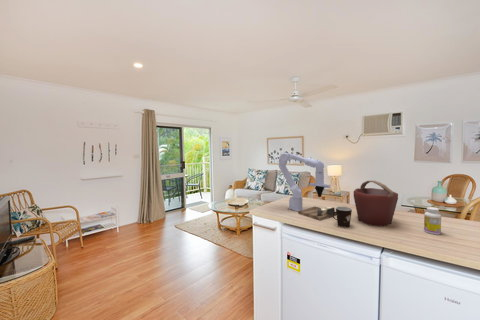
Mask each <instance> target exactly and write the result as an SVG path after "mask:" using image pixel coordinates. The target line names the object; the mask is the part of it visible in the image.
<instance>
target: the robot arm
mask: <svg viewBox="0 0 480 320" xmlns="http://www.w3.org/2000/svg"><path fill="white" fill-rule="evenodd" d="M289 160H290V161H291V160H295V161H298V162H302V163H304V165H306V166H308V167H310V168H314V169H315V179H314V180H315V182H310V183H309V186H310V187H314V189H315V191H316V193H317V197H318V198H321V197H322V195H323V192H324V190H325V189H326V188H327V189H330V188H331V184H325V174H324V173H325V172H324V171H325V170H324V168H325V163H323V161H321V160H319V159H314V158H312V156H311V157H306V158H305V157H303V156H300V155H298V154H294V153H289V152H282V153H281V154H280V155H279V158H278V167H279V170H280V171H281V173H282V176H283V177H284V178H285V181H286V182H287V184H288V186H289V188H290V190H291V192H292V196H291V197H289V199H288V203H289V204H288V205H289V208H288V209H289V210H292V211H295V212H298V211H300V210H303V209H304V208H303V196H302V193H303V192H302V191H303V190H302V189H301V188H300V187H299V186H298V185H297V183H296V181H295V180H294V178H293V177H292V175H291V172H290V171H289V169H288V168H287V163H288V161H289Z"/></svg>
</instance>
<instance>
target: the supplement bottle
mask: <svg viewBox="0 0 480 320" xmlns="http://www.w3.org/2000/svg"><path fill="white" fill-rule="evenodd" d="M439 212H440V209H439V208H437V207H431V206H430V207H426V212H424V216H423V219H424V221H423V231H424V232H426V233H428V234H432V235H440V234H441V233H442V215H441V214H440V213H439Z"/></svg>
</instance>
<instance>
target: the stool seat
mask: <svg viewBox="0 0 480 320" xmlns="http://www.w3.org/2000/svg"><path fill="white" fill-rule="evenodd" d="M322 208H323V207H319V206H312V207H307V208H303V210H300V211H297V212H298V213H297V214H299V215H301V216H303V217H304V216H305V217H308V218H310V219H314V220H318V221H320V222H321V221H323V220H326V219H330V218H333V213H334V212H336V207H334V208H330V209H327V214H325V215H321V209H322ZM334 217H337V215H336V213H335V214H334Z"/></svg>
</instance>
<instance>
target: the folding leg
mask: <svg viewBox="0 0 480 320" xmlns="http://www.w3.org/2000/svg"><path fill="white" fill-rule="evenodd" d="M321 208H322V209H321V215H325V214H327V209H330V208H335V207H333V206H327V207H321Z"/></svg>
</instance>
